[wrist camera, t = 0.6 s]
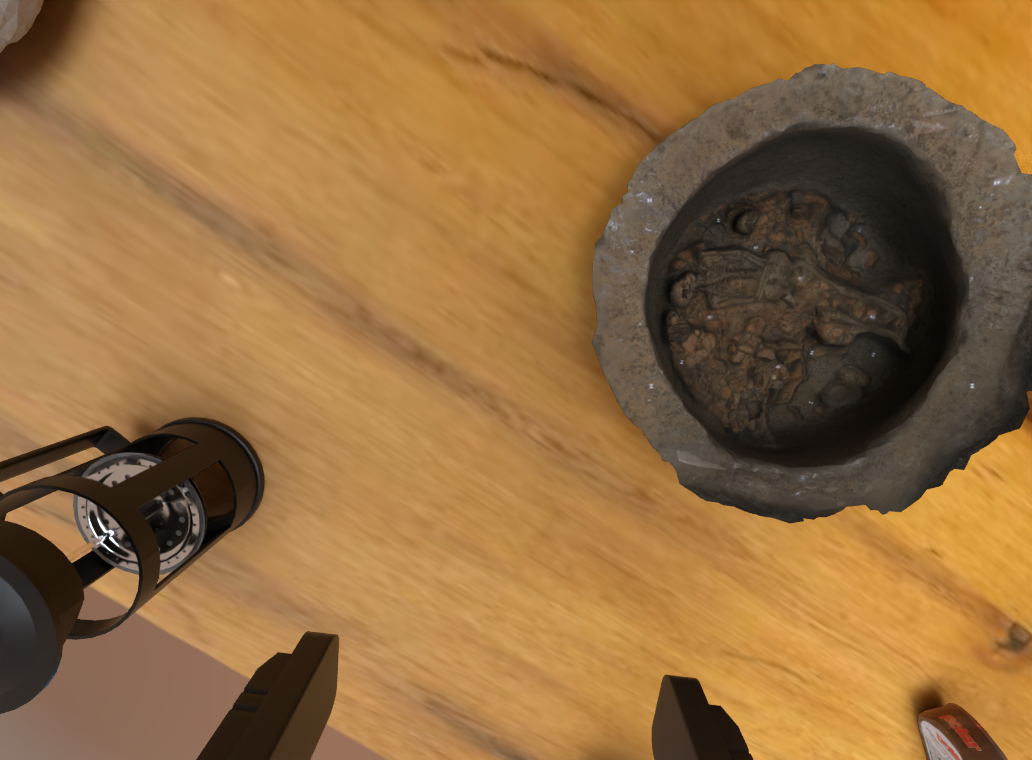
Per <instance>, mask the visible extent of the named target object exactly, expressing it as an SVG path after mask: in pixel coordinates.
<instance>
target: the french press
mask: <svg viewBox="0 0 1032 760" xmlns="http://www.w3.org/2000/svg"><path fill="white" fill-rule="evenodd" d="M178 438H181V439H185V440H188V441H190V442H192V443H195V444H197V445H195V446H193V447H191V448H189V449H187V450H185V451H183V452H181V453H179V454H177V455H175V456H173V457H170V458H168V459H165V458H162V457H160V456H159V455H160V453H161V452H162V450H163V449H164V448H165V447H166V446H167V445H168V444H169V443H170V442H172V441H173V440H175V439H178ZM91 447H96V448H98V449H99V450H100V451H102V452H103V453H104V454H105V455H103V456H100V457H98V458H95V459H93V460H90V461H88V462H86V463H83V464H81V465H78V466H76V467H73V468H71V469H69V470H66V471H64V472H61V473H59V474H57V475H54V476H51V477H45V478H42V479H39V480H37V481H34V482H31V483H29V484H26V485H24V486H21V487H19V488H16V489H14V490H11V491H9V492H7V493H5V494H2V493H1V492H0V714H1V713H5V712H8V711H11V710H15V709H16V708H18V707H20V706H22V705H24V704H26V703H28V702H29V701H31V700H32V699H33V698H34V697H35V696H36V695H38V694H39V693H40V692H41V691H42V690H43V689H44V688H45V687H46V686H47V685H48V684H49V682H50V681H51V679H52V678H53V676H54V675H55V673H56V672H57V669H58V666H59V663H60V660H61V657H62V649H63V645H64V643H65V641H66V639H75V640H77V639H86V638H92V637H96V636H99V635H102V634H105V633H107V632H109V631H111V630H113V629H114V628H116V627H118V626H119V625H120V624H122V623H123V622H124V621H125V620H126V619H127V618H129V617H130V616H131V615H132V614H133V613H135V612H136V611H137V610H138V609H139V608H140V607H142V606H143V605H144V604H145V603H146V602H148V601H149V600H150V599H151V598H152V597H153V596H155V595H156V594H157V593H158V592H159V591H161V590H162V589H163V588H164V587H165V586H166V585H168V584H169V583H170V582H171V581H172V580H173V579H175V578H176V577H177V576H178V575H179V574H181V573H182V572H183V571H184V570H185V569H186V568H188V567H189V566H190V565H191V564H192V563H194V562H195V561H196V560H197V559H198V558H199V557H201V556H202V555H203V554H204V553H205V552H207V551H208V550H209V549H210V548H211V547H212V546H214V545H215V544H216V543H217V542H218V541H220V540H221V539H222V538H223V537H224V536H225V535H227V534H228V533H229V532H231V531H233V530H235V529H237V528H239V527H240V526H242V525H243V524H244V523H245V522H246V521H247V520H249V519H250V518H251V517H252V515H253V514H254V513H255V511H256V510H257V508H258V506H259V504H260V501H261V499H262V495H263V489H264V475H263V471H262V467H261V463H260V461H259V459H258V457H257V455H256V453H255V451H254V450H253V449H252V447H251V446H250V444H249V443H248V442H247V441H246V440H245V439H244V438H243V437H242V436H241V435H240V434H239V433H237V432H236V431H234V430H233V429H231V428H230V427H228V426H226V425H224V424H222V423H220V422H217V421H213V420H209V419H206V418H185V419H179V420H176V421H173V422H170V423H168V424H166V425H164V426H162V427H161V428H159V429H157V430H156V431H155V432H154V433H151V434H149V435H146V436H144V437H141V438H139V439H137V440H135V441H134V442H132V443H131V442H129V441H128V440H127V439H126V438H124V437H123V436H122V435H121V434H119V433H118V432H117V431H116V430H114V429H113V428H111V427H109V426H104V427H101V428H98V429H95V430H92V431H89V432H86V433H83V434H80V435H77V436H75V437H72V438H69V439H66V440H63V441H60V442H57V443H54V444H51V445H48V446H46V447H43V448H40V449H37V450H34V451H31V452H28V453H25V454H22V455H19V456H17V457H14V458H11V459H8V460H5V461H2V462H0V482H2V481H5V480H7V479H10V478H13V477H15V476H18V475H20V474H23V473H26V472H28V471H31V470H33V469H36V468H39V467H41V466H44V465H46V464H49V463H52V462H54V461H57V460H60V459H62V458H65V457H67V456H70V455H73V454H75V453H78V452H80V451H83V450H86V449H88V448H91ZM216 462H219V463H220V465H221V466H222V467H223V469H224V470H225V471H226V474H227V476H228V478H229V480H230V482H231V485H232V489H233V493H234V509H233V511H232V512H231V513H230V514H228V515H226V516H225V517H222V518H219V519H214V520H207V509H206V505H205V502H204V498H203V496H202V494H201V492H200V490H199V488H198V486H197V485H196V483H195V482H194V480H193V479H192V478H191V477H192V476H194V475H196V474H197V473H199V472H201V471H202V470H204V469H206V468H208V467H209V466H211V465H213V464H214V463H216ZM57 490H61V491H65V492H69V493H73V494H74V502H73V507H74V516H75V520H76V523H77V526H78V529H79V531H80V532H81V534H82V536H83V538H84V540H85V541H86V542H87V544H85V545H84V546H82V547H80V548H79V549H77V550H75V551H74V552H72V553H70V554H69V555H67V556H65V554H64V553H63V552H62V551H61V550H59V549H58V548H57V547H56V546H55V545H54V544H53V543H52V542H50V541H49V540H47V539H46V538H44V537H43V536H41V535H40V534H38V533H36V532H35V531H33V530H31V529H28V528H26V527H24V526H21V525H19V524H16V523H12V522H8V521H4V520H5V517H6V514H7V513H8V512H10V511H12V510H14V509H17V508H19V507H21V506H23V505H26V504H28V503H30V502H32V501H35V500H37V499H39V498H41V497H43V496H46V495H48V494H50V493H52V492H55V491H57ZM89 549H92V550H93V551H91V552H90V553H88V554H86V555H85V556H83V557H81V558H80V559H78V560H77V561H75V562H73V563H71V562H70V561H72V560H73V559H75V558H76V557H78V556H80V555H81V554H83V553H85V552H86V551H88V550H89ZM115 567H117V568H119V569H121V570H124V571H126V572H130V573H134V574H138V575H139V585H138V592H137V595H136V597H135V600H134V603H133V605H132V606H131V608H130V609H129V611H128V612H127V613H125V614H124V615H121V616H118V617H115V618H111V619H106V620H97V621H93V620H80V619H77V618H78V615H79V612H80V609H81V606H82V603H83V601H84V591H83V589H85V588H86V587H88V586H89V585H91V584H92V583H94V582H95V581H96V580H98V579H99V578H101V577H102V576H104V575H105V574H106V573H108V572H109V571H111V570H112V569H114V568H115ZM171 571H173V572H171ZM168 572H171V573H170V574H169V575H168V576H167V577H165V578H164V579H163V580H162V581H160V582H159V583H158V584H157V582H158V579H159V574H165V573H168ZM156 584H157V585H156Z"/></svg>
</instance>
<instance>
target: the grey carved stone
mask: <svg viewBox="0 0 1032 760" xmlns="http://www.w3.org/2000/svg"><path fill="white" fill-rule="evenodd" d="M43 1H44V0H0V53H1V52H2V51H3V50H4V48H5V46H7V45H8V44H10V43H14V42H17V41H19V40H20V39H21V38H22V37H23V36H24V35H25V34H26V33H28V30H29V29H30V28H31V27H32V25H33V23H34V20H35V18H36V16H37V15H38V13H39V12H40V11H41V7H42V4H43Z"/></svg>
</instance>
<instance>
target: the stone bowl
mask: <svg viewBox="0 0 1032 760" xmlns="http://www.w3.org/2000/svg"><path fill="white" fill-rule="evenodd" d="M1015 151H1016V146H1015V144H1014V142H1013V141H1012V140H1011V139H1010V138H1009V136H1008V135H1007V134H1006V133H1005V132H1004V131H1003V130H1002V129H1000V128H998V127H996V126H994V125H992V124H990V123H988V122H986V121H984V120H982V119H981V118H979V117H978V116H977V115H976V114H974V113H972V112H971V111H968V110H967V109H966V108H964V107H963V106H962V105H956V104H954V103H952V102H950V101H947V100H945V99H944V98H942V97H941V96H940V95H939V94H937V93H936V92H934V91H933V90H932V89H930V88H928V87H926V86H925V84H923V83H922V82H921V81H919V80H917V79H914V78H909V77H904V76H899V75H897V74H895V73H892V72H887V73H886V74H880V73H877V72H875V71H872V70H868V69H865V68H860V67H857V68H846V69H842V68H840V67H838V66H836V65H835V64H831V65H825V64H815V65H812V66H810V67H807V68H805V69H803V70H802V71H801V72H799V73H796V74H795V75H794V76H792V77H791V78H790V79H789V80H788V81H786V80H782V79H777V80H775V81H773V82H771V83H769V84H765V85H761V86H758V87H754V88H752V89H750V90H748V91H746V92H744V93H742V94H741V95H739V96H737V97H736V98H735V99H730V100H727V101H725V102H722V103H717V104H715V105H713V106H712V107H710V108H708V109H707V110H706V111H705V112H704V113H703V114H702V115H701V116H700V117H699V118H696V119H694V120H692V121H690V122H689V123H687V124H686V125H684V126H683V127H681V128H680V129H678V130H677V131H676V132H674V133H673V134H672V135H670V136H669V137H668V138H667V139H665V140H664V141H663V142H661V143H660V144H659V145H657V146H656V147H655V148H654V149H653V150H652V151H651V152H650V153H649V154H648V156H647V157H646V158H645V159H644V160H643V161H642V162H641V163H640V164H639V165H638V166H637V169H636V171H635V173H634V175H633V178H632V180H630V181H629V183H628V190H629V192H627V193H626V194H624V195H623V199H622V203H621V204H620V205H618V206H616V207H614V208H613V209H612V212H611V215H610V218H609V222H608V224H607V226H606V228H605V230H604V232H603V234H602V237H601V238H600V239H598V240H597V241H596V243H595V255H594V259H593V295H594V299H595V303H596V306H597V328H596V331H595V335H594V338H593V340H592V344H593V347H594V349H595V352H596V355H597V357H598V360H599V362H600V365H601V367H602V370H603V372H604V374H605V376H606V378H607V380H608V382H609V385H610V387H611V389H612V391H613V392H614V394H615V397H616V400H617V402H618V404H619V405H620V407H621V408H622V410H623V411H624V413H625V415H626V416H627V417H628V418H629V420H630V421H631V422H632V423H633V424H635V425H636V426H637V427H639V428H640V429H641V430H642V432H643V434H644V436H646V438H647V439H648V441H649V443H650V444H651V445H652V447H653V448H654V449H656V451H657V452H658V453H659V454H660V455H661V457H662V460H663V461H667V462H670V464H671V465H672V466H673V467H674V468H675V470H676V472H677V476H678V479H679V483H680V484H681V485H682V486H684V487H685V488H687V489H689V490H690V491H692V492H693V493H695V494H696V495H697V496H699V497H700V498H702V499H704V500H706V501H710V502H718V503H720V504H722V505H727V506H734V507H736V508H739V509H741V510H743V511H746V512H749V513H752V514H757V515H759V516H764V517H771V518H775V519H778V520H781V521H784V522H788V523H795V522H801V521H804V520H803V518H806V519H813V520H814V519H816V518H817V517H828V516H830V515H833V514H835V513H837V512H840V511H842V510H843V509H844V508H846V507H848V506H858V505H866V506H867V507H868V508H869V509H870V510H878V511H879V512H880V513H881V514H883V515H884V514H886V513H888V512H889V511H894V512H902V511H903V510H904V509H906V508H907V507H909V506H910V505H912V504H913V503H914V502H915V501H917V500H918V499H920V498H921V496H922V495H923V494H924V492H925V491H926V490H927V489H931V488H935V487H939V486H941V485H943V482H944V481H945V479H946V477H947V475H948V473H949V472H950V471H951V470H953V469H961V470H964V469H965V467H966V465H967V463H968V461H969V459H970V456H971V455H972V454H974V453H976V452H978V451H979V450H980V449H982V448H984V447H986V446H987V445H989V444H990V443H991V442H993V441H994V440H995V439H996V438H997V437H998V435H1001V434H1004V433H1007V432H1010V431H1013V430H1016V429H1019V428H1020V427H1021V425H1022V423H1023V421H1024V419H1025V417H1026V415H1027V413H1028V410H1029V409H1030V408H1029V403H1028V398H1027V393H1026V392H1027V391H1032V175H1030V174H1024V173H1021V171H1020V169H1019V166H1018V164H1017V161H1016V159H1015V156H1014V153H1015Z"/></svg>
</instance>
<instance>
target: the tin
mask: <svg viewBox="0 0 1032 760" xmlns="http://www.w3.org/2000/svg"><path fill="white" fill-rule="evenodd" d="M918 725H919V729H920V733H921V737H922V740H923V744H924V747H925V751H926V755H927V758H928V760H1008V759H1007V758H1006V756H1005V755H1004V753H1003V752H1002V751H1001V749H1000V748H999V747H998V746H997V744H996V743H995V742H994V741H993V739H992V738H991V737H990V736H989V734H988V733H987V732H986V731H985V730H984V728H983V727H982V726H981V725H980V724H979V723H978V722H977V721H976V720H975V719H974V718H973V717H972V716H971V715H970V714H969V713H968V712H966V711H965V710H964V709H963V708H961V707H960V706H958V705H956V704H954V703H948V704H947V705H946V706H943V707H938V708H934V709H930V710H926V711H923V712H921V713H920V714H919V716H918Z"/></svg>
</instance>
